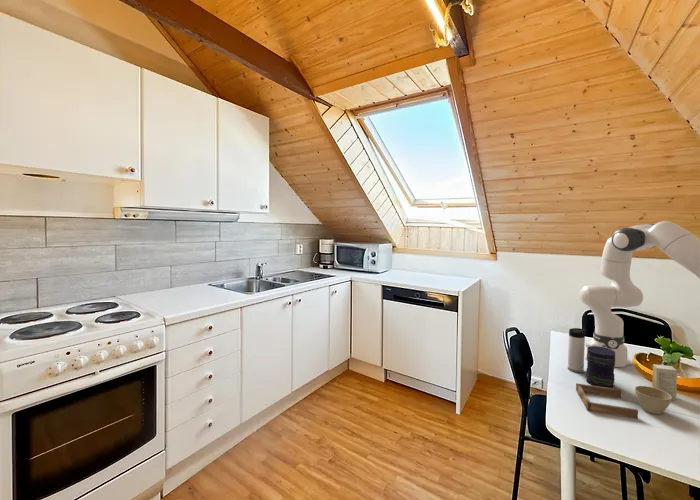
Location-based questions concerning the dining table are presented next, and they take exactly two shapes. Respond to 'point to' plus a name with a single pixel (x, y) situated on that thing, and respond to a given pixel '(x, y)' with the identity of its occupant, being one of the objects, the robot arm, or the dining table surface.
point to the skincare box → (665, 379)
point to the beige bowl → (652, 399)
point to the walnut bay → (603, 407)
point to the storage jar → (600, 366)
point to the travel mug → (576, 350)
